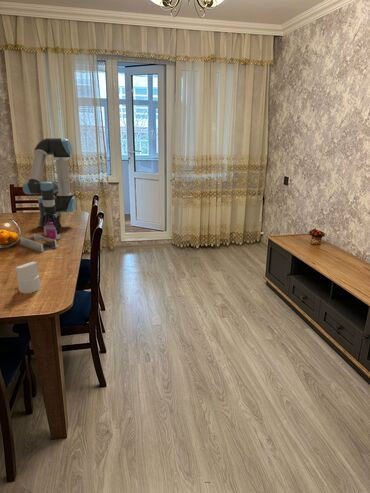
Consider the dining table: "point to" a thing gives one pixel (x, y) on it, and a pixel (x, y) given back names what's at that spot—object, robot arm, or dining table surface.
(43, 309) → the dining table surface
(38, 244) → the mounting rail
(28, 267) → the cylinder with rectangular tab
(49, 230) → the supplement box
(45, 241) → the orange square tile
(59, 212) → the food container
